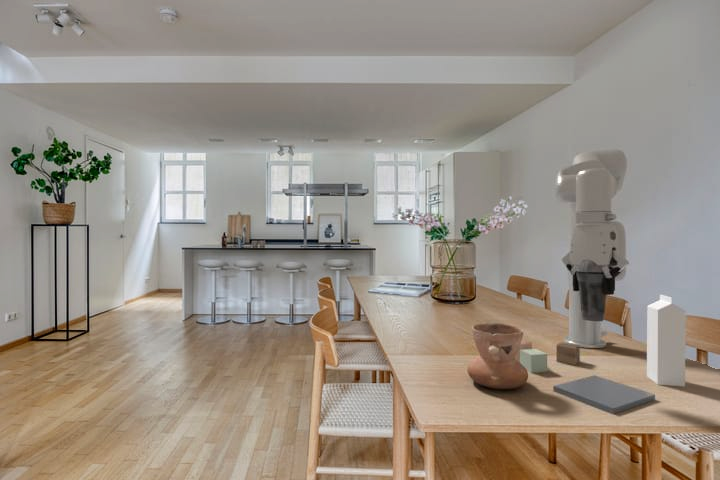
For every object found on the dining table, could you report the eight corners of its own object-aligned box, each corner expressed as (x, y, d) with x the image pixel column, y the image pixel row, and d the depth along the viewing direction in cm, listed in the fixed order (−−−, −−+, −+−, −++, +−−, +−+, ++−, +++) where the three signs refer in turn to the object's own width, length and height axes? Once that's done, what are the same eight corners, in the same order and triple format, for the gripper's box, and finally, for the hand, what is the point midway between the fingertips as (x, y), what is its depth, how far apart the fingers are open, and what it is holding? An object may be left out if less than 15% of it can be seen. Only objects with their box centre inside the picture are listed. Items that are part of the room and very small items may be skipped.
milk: (657, 385, 99) (657, 297, 99) (646, 376, 105) (646, 293, 105) (685, 387, 98) (686, 297, 98) (673, 378, 104) (673, 294, 104)
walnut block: (561, 358, 121) (561, 341, 121) (579, 361, 118) (579, 344, 118) (556, 361, 118) (556, 345, 118) (575, 365, 114) (575, 348, 114)
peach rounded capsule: (519, 358, 121) (519, 338, 121) (536, 363, 116) (536, 343, 116) (505, 360, 119) (505, 340, 118) (522, 366, 113) (522, 345, 113)
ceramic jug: (526, 401, 89) (526, 338, 89) (461, 390, 95) (461, 332, 95) (529, 376, 106) (529, 322, 106) (473, 368, 112) (473, 318, 112)
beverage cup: (569, 316, 101) (569, 238, 101) (596, 316, 101) (597, 238, 101) (587, 322, 93) (588, 237, 93) (617, 322, 94) (617, 237, 94)
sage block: (535, 366, 114) (535, 348, 114) (547, 371, 109) (547, 353, 109) (520, 367, 113) (520, 349, 113) (531, 373, 108) (531, 354, 108)
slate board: (594, 379, 103) (594, 375, 103) (655, 399, 90) (655, 394, 90) (553, 390, 95) (553, 385, 95) (613, 414, 83) (613, 408, 83)
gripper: (640, 218, 91) (639, 296, 91) (570, 221, 107) (570, 288, 107) (620, 217, 88) (620, 298, 88) (551, 221, 103) (551, 289, 103)
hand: (592, 292), depth 97 cm, fingers closed on beverage cup, 7 cm apart
